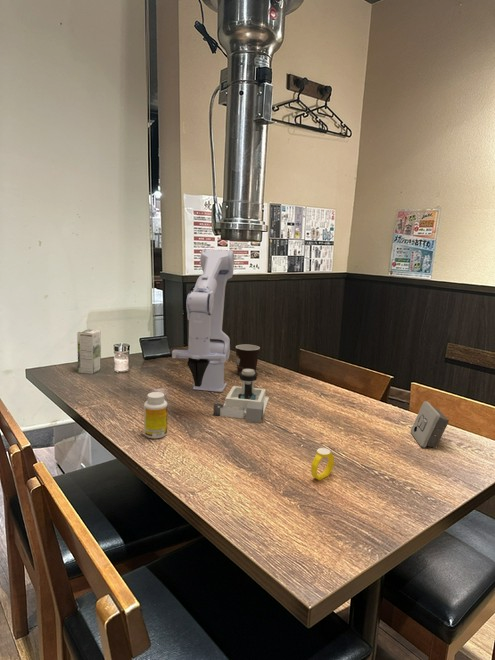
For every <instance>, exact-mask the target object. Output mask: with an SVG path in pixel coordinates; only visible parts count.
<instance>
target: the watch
mask: <svg viewBox="0 0 495 660" xmlns="http://www.w3.org/2000/svg"><path fill="white" fill-rule="evenodd" d="M323 458H327V464H326V466H325V468H324V470H323V472H321V473H319V474H318V468H319V465H320V462H321V461H322V459H323ZM334 464H335V456H334V455H333V453H332V452H331V450H330V449H328V448H325V447H319V448H318V449H317V450H316V454H315V456H314V458H313V460H312V462H311V467H310V473H311V476H312V477H313V478H314V479H316V480H318V481H321V480H324V479H326V478H328V477H329V476H330V475H331V473H332V471H333V468H334Z"/></svg>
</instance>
